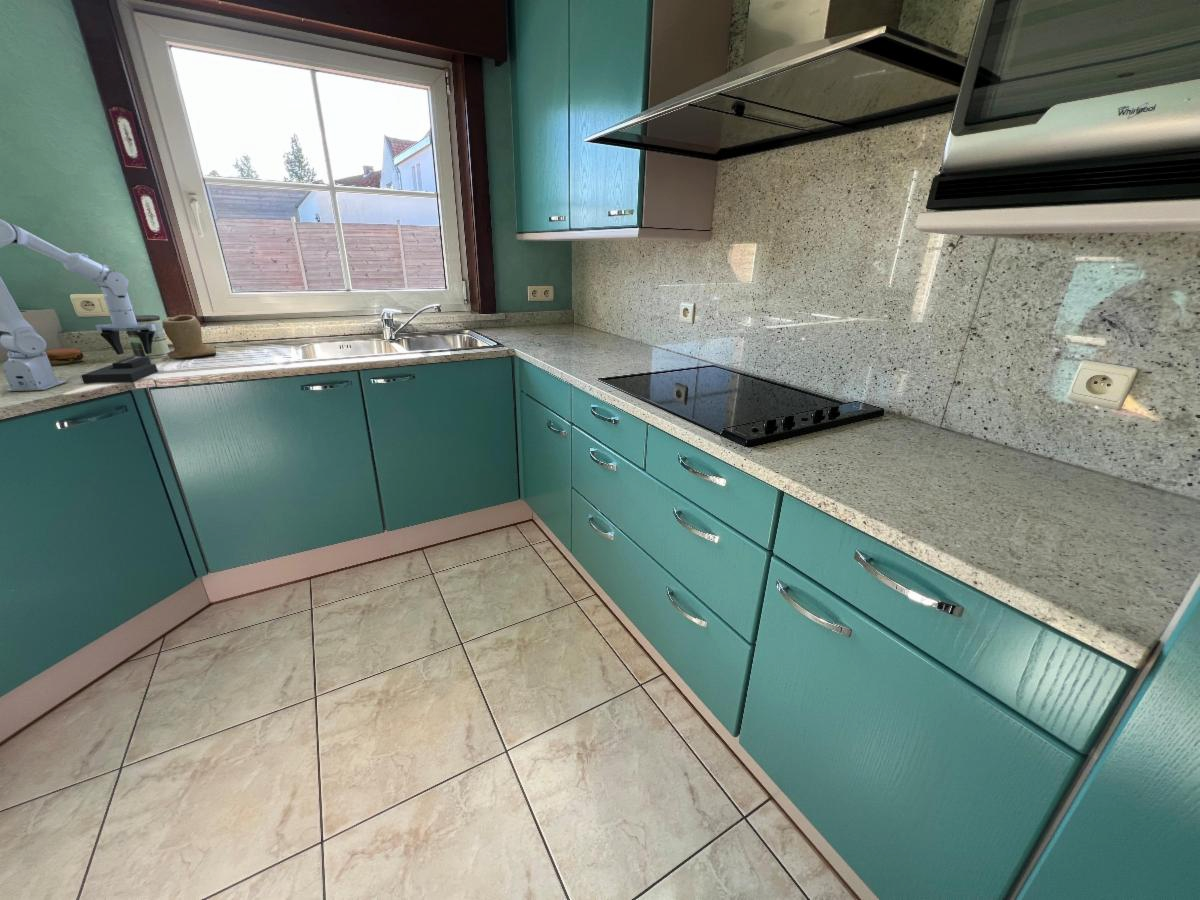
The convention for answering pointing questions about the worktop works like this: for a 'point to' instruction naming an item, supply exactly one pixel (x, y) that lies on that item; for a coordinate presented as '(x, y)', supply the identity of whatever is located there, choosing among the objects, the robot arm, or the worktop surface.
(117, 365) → the pad
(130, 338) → the coffee can
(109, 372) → the notch pad
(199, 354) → the tan suede boot
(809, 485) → the worktop surface
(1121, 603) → the worktop surface
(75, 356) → the burger
